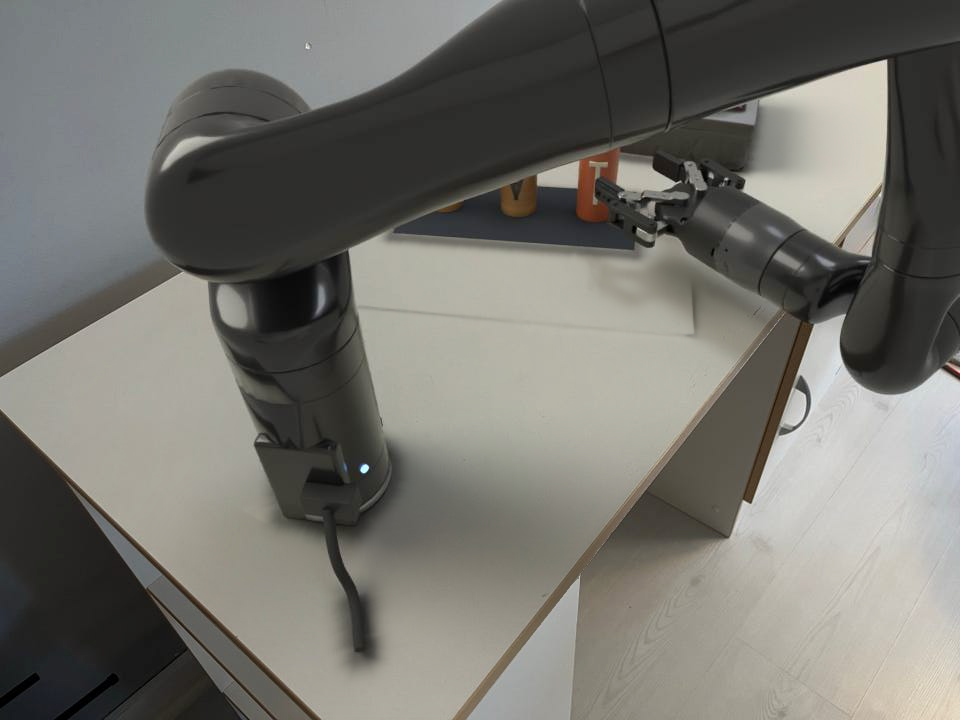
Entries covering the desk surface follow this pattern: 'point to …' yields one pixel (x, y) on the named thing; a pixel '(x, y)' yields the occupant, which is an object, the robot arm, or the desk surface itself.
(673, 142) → the bible
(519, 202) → the light wooden cylinder
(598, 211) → the pillar
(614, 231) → the word mat
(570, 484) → the desk surface
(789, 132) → the desk surface
